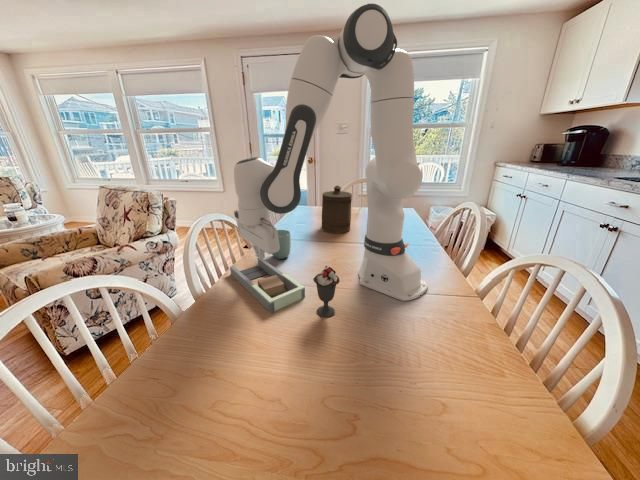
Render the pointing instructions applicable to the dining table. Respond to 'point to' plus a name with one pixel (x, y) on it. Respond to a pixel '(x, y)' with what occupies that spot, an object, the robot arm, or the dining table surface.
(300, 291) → the box
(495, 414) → the dining table surface
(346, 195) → the wooden container
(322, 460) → the dining table surface
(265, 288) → the block
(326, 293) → the sundae
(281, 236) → the cup
